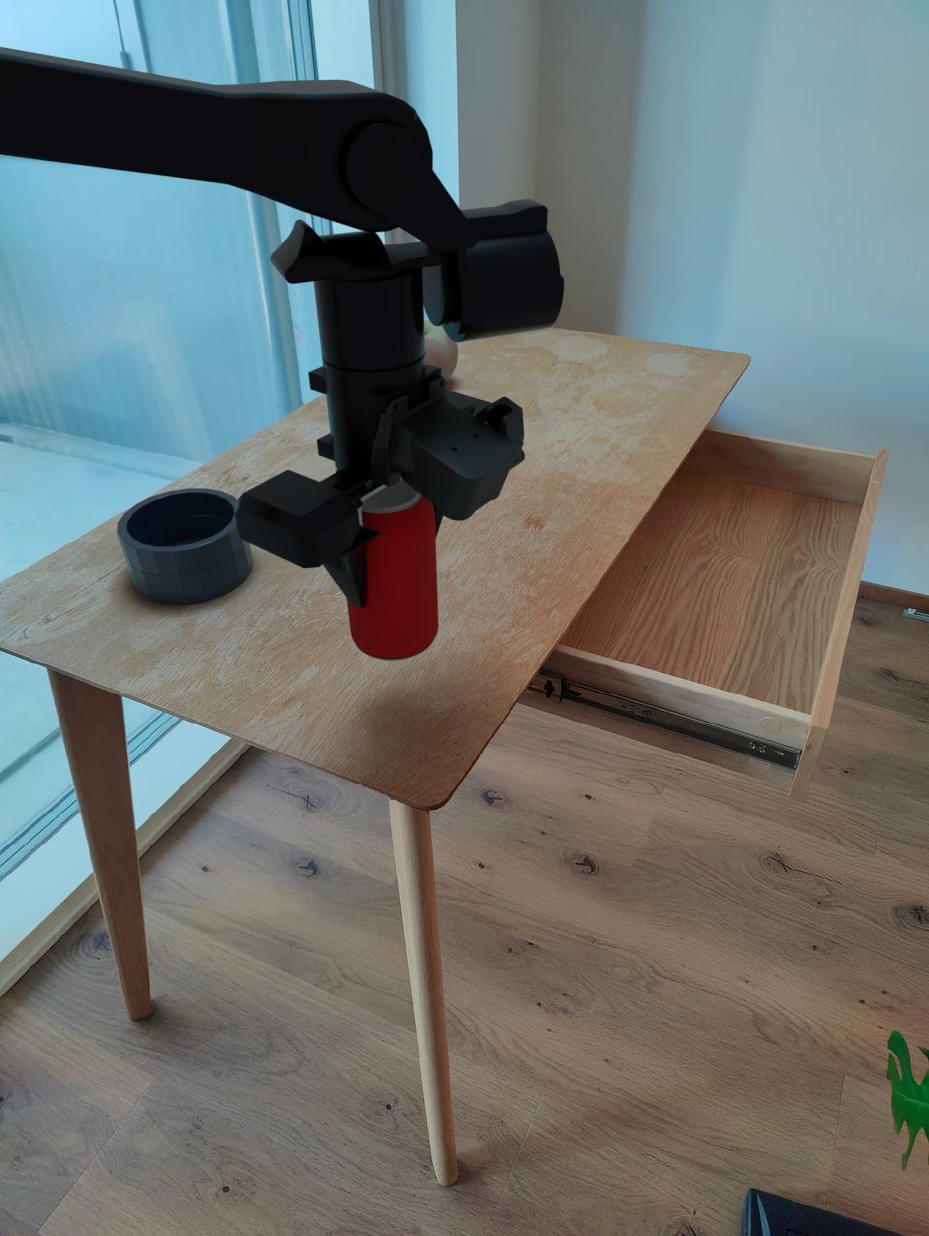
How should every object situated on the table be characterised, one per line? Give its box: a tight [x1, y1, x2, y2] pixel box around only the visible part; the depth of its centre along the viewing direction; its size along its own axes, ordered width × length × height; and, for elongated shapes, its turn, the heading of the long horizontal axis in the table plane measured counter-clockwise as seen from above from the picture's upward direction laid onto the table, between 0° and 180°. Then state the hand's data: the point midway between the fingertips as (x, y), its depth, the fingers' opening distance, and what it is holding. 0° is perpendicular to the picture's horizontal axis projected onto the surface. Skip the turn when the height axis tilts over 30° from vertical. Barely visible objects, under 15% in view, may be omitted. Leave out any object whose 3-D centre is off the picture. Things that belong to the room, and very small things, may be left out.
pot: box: [116, 487, 254, 605], centre depth 74 cm, size 11×11×6 cm
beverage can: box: [346, 478, 440, 662], centre depth 55 cm, size 6×6×12 cm
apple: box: [424, 319, 459, 382], centre depth 107 cm, size 8×8×8 cm
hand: (390, 582), depth 56 cm, fingers closed on beverage can, 6 cm apart
